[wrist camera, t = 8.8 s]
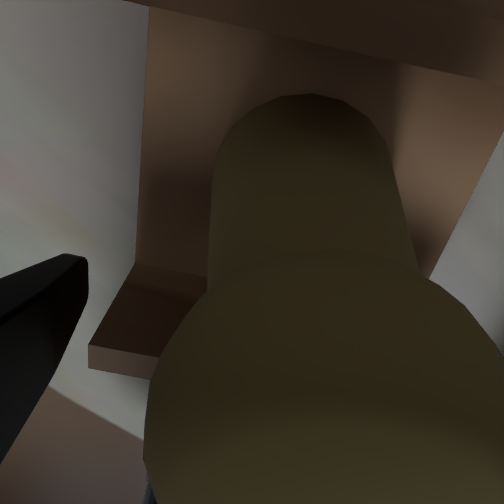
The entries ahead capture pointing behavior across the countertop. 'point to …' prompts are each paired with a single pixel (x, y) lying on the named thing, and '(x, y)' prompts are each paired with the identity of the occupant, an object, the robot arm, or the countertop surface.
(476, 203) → the countertop surface
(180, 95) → the rack
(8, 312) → the robot arm
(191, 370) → the olive bottle gourd
